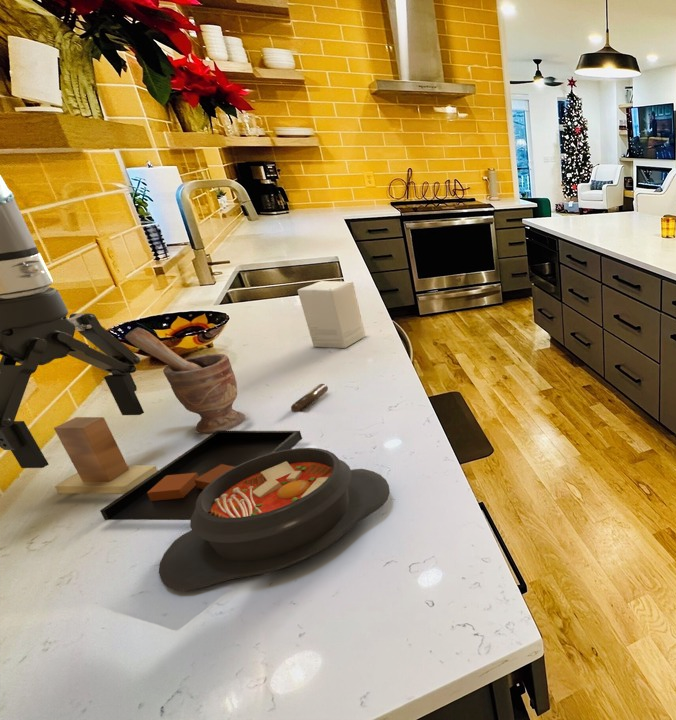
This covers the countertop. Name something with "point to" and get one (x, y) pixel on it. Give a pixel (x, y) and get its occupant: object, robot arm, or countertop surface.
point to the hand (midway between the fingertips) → (88, 438)
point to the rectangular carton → (332, 313)
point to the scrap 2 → (211, 475)
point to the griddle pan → (205, 467)
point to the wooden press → (97, 459)
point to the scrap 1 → (173, 487)
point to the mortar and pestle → (197, 382)
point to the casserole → (270, 516)
